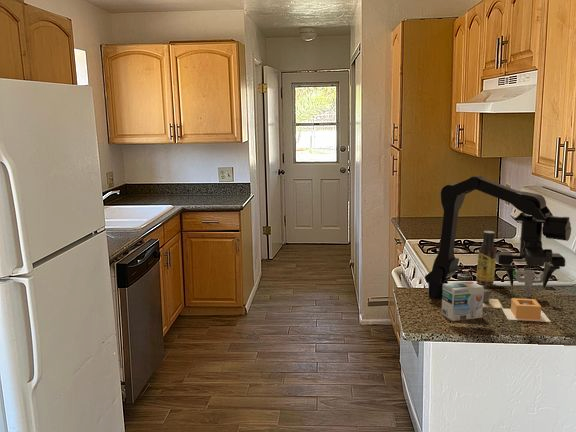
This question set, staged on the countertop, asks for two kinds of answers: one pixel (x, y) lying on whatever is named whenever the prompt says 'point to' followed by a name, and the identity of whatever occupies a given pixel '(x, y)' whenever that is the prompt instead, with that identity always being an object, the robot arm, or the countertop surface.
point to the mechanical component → (528, 279)
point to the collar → (525, 308)
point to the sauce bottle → (486, 259)
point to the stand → (490, 301)
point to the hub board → (512, 317)
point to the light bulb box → (462, 300)
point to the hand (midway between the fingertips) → (527, 286)
